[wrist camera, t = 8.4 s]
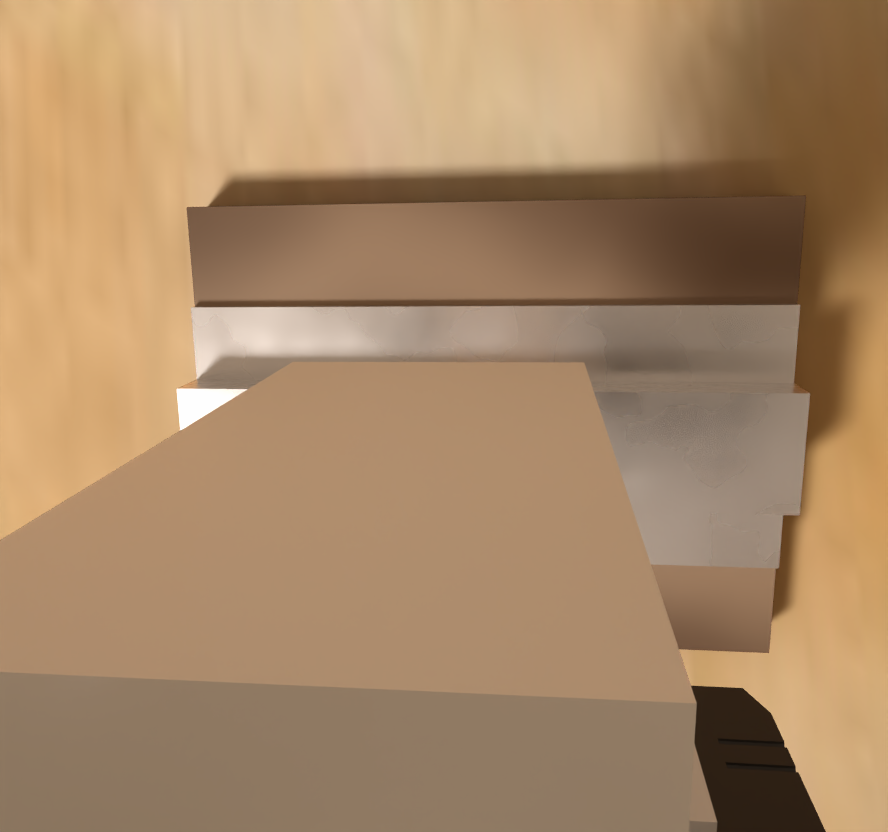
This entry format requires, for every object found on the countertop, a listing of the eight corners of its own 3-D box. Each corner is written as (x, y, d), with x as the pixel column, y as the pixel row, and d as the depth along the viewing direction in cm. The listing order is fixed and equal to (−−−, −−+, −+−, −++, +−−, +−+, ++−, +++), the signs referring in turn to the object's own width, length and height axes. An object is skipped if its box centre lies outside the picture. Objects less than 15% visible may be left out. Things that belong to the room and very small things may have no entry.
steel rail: (776, 564, 26) (793, 589, 24) (215, 547, 28) (192, 569, 26) (797, 303, 24) (817, 310, 22) (194, 306, 26) (170, 312, 24)
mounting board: (757, 630, 28) (769, 652, 26) (237, 609, 30) (221, 629, 28) (790, 197, 24) (805, 195, 23) (205, 208, 27) (186, 207, 25)
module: (287, 361, 14) (-217, 661, 5) (583, 362, 14) (698, 703, 4) (311, 750, 16) (-19, 1539, 7) (574, 764, 16) (638, 1648, 6)
